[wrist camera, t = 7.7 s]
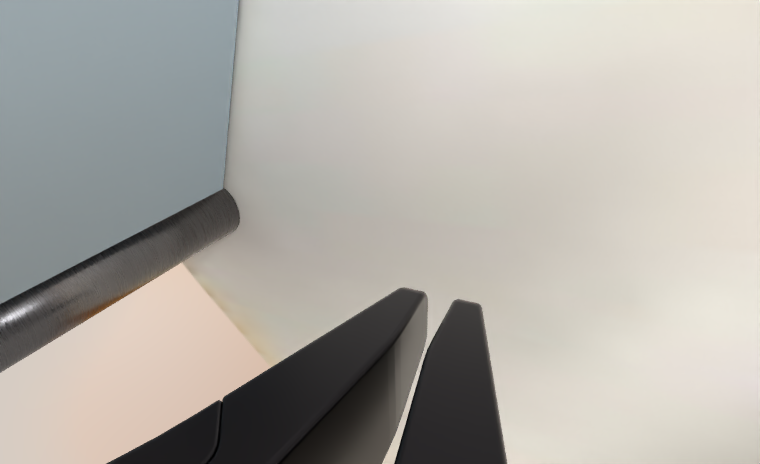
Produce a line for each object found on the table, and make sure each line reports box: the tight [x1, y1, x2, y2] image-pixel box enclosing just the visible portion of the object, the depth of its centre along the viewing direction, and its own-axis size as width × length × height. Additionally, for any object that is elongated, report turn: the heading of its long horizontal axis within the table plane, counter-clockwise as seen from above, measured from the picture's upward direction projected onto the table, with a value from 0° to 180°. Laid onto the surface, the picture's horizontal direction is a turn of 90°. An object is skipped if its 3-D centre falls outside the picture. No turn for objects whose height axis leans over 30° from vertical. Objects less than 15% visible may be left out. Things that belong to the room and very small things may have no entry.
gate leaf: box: [0, 0, 239, 304], centre depth 17 cm, size 18×2×14 cm, turn 164°
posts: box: [0, 188, 240, 373], centre depth 16 cm, size 24×3×16 cm, turn 163°
